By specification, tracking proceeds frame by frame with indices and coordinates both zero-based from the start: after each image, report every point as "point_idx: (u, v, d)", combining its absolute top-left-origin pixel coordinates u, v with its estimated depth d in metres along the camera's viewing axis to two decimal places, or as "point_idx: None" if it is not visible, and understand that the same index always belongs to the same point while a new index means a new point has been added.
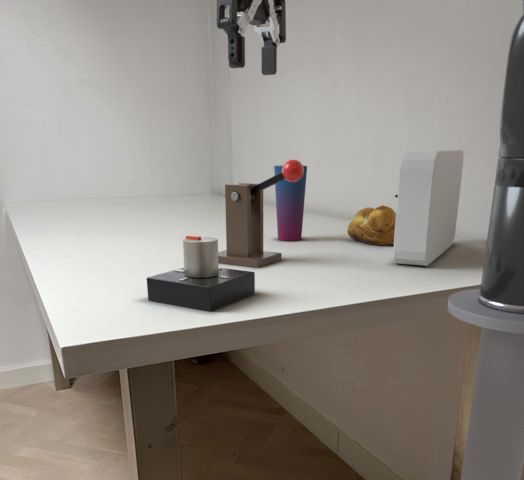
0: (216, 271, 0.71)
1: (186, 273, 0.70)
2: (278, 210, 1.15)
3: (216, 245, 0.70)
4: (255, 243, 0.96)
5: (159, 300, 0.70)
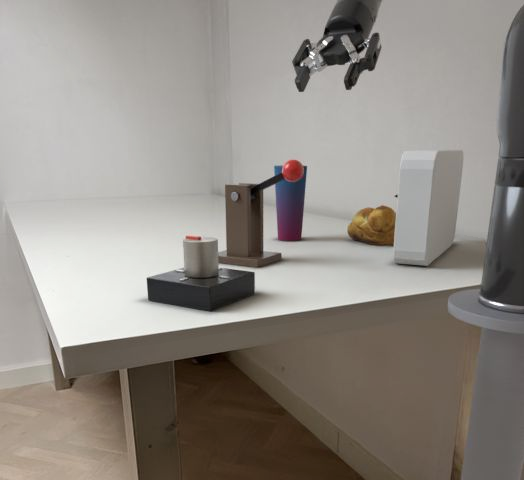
0: (216, 271, 0.71)
1: (186, 273, 0.70)
2: (278, 210, 1.15)
3: (216, 245, 0.70)
4: (255, 243, 0.96)
5: (159, 300, 0.70)
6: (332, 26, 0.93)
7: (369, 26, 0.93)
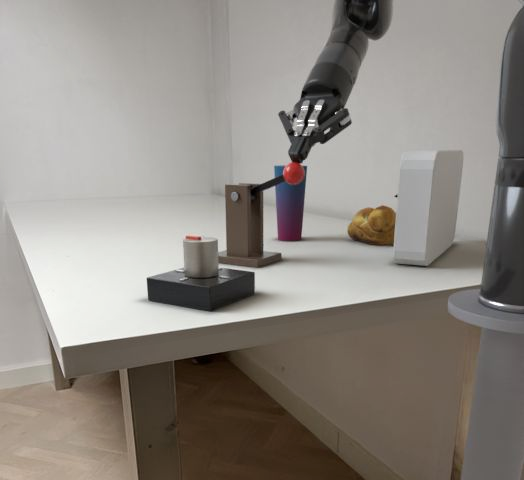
0: (216, 271, 0.71)
1: (186, 273, 0.70)
2: (278, 210, 1.15)
3: (216, 245, 0.70)
4: (255, 243, 0.96)
5: (159, 300, 0.70)
6: (308, 90, 0.89)
7: (348, 89, 0.89)
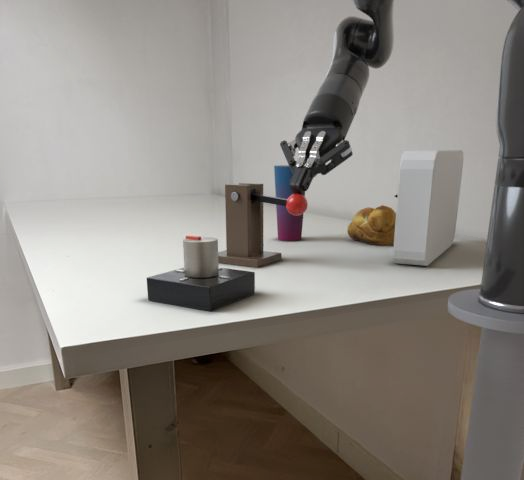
0: (216, 271, 0.71)
1: (186, 273, 0.70)
2: (278, 210, 1.15)
3: (216, 245, 0.70)
4: (255, 243, 0.96)
5: (159, 300, 0.70)
6: (310, 120, 0.90)
7: (349, 120, 0.90)
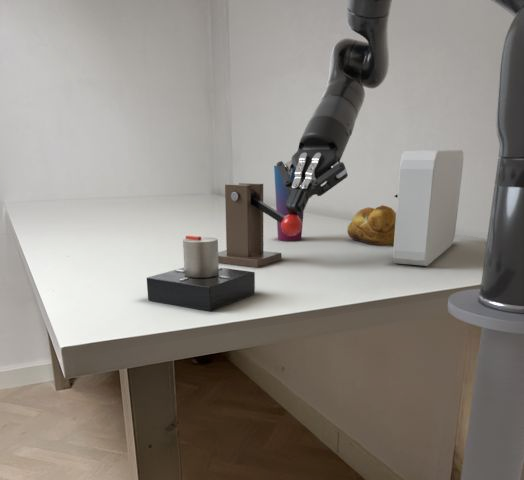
0: (216, 271, 0.71)
1: (186, 273, 0.70)
2: (278, 210, 1.15)
3: (216, 245, 0.70)
4: (255, 243, 0.96)
5: (159, 300, 0.70)
6: (306, 142, 0.92)
7: (344, 142, 0.92)
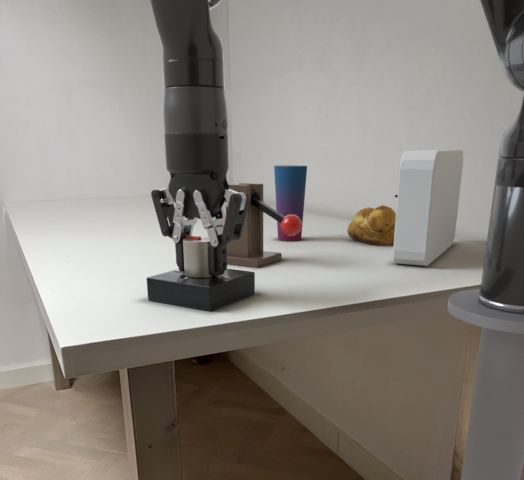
0: None
1: (186, 273, 0.70)
2: (278, 210, 1.15)
3: None
4: (255, 243, 0.96)
5: (159, 300, 0.70)
6: None
7: (222, 152, 0.65)
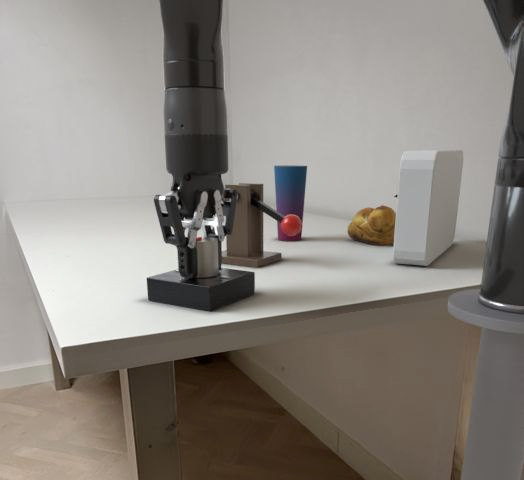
0: None
1: (210, 274, 0.70)
2: (278, 210, 1.15)
3: None
4: (255, 243, 0.96)
5: (159, 300, 0.70)
6: (203, 174, 0.65)
7: None
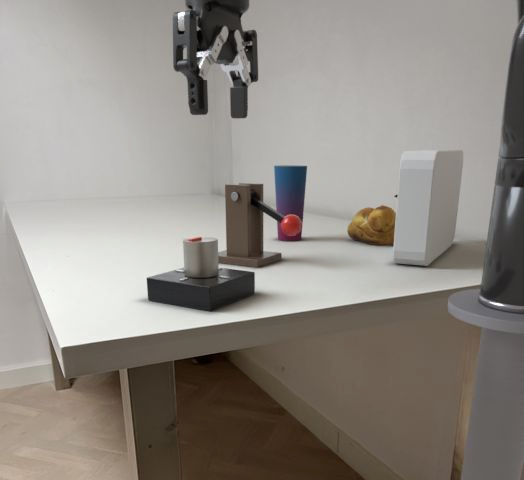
0: None
1: (210, 274, 0.70)
2: (278, 210, 1.15)
3: None
4: (255, 243, 0.96)
5: (159, 300, 0.70)
6: (224, 5, 0.63)
7: None
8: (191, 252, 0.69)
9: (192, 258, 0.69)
